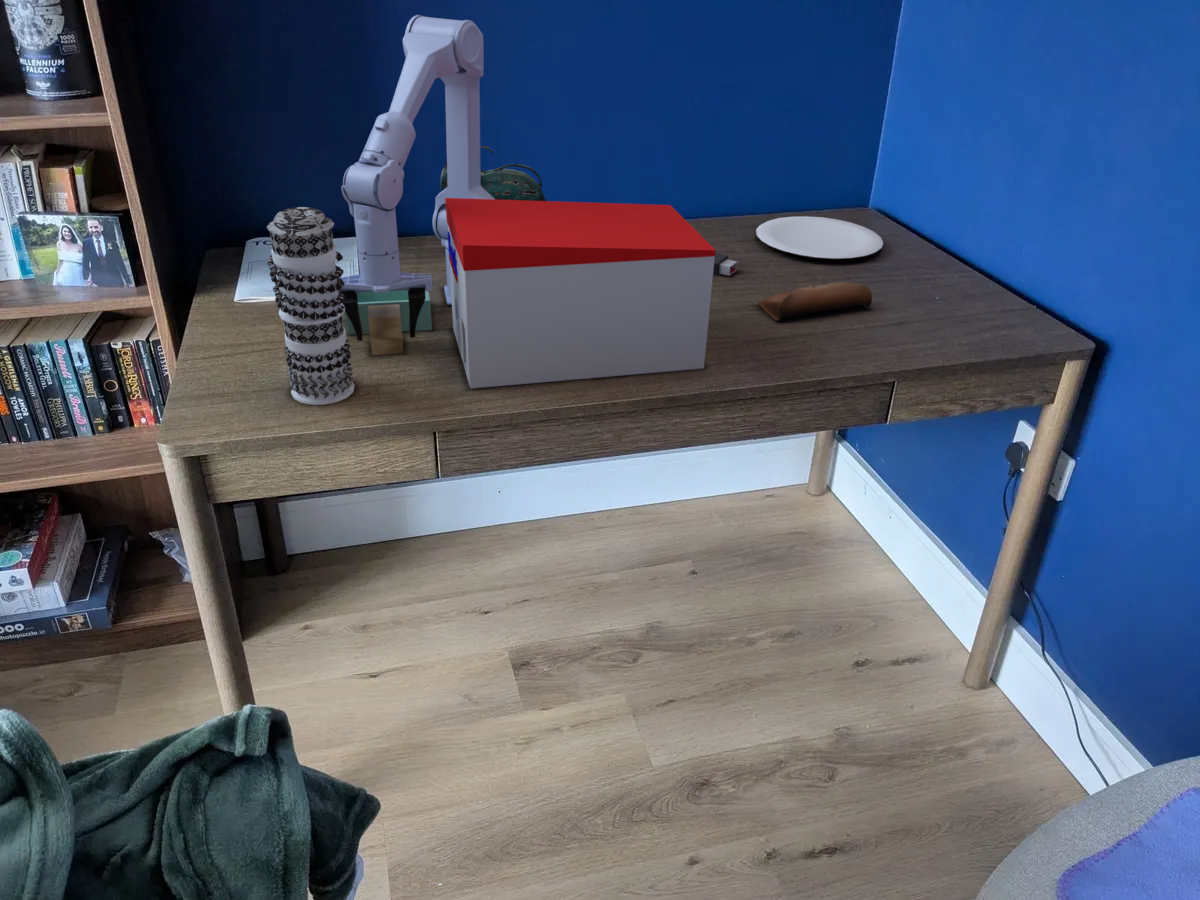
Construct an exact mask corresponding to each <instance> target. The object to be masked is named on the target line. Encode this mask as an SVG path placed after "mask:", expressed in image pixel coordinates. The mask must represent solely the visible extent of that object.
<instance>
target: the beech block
mask: <svg viewBox="0 0 1200 900" xmlns="http://www.w3.org/2000/svg"><path fill="white" fill-rule="evenodd" d="M368 320H369V330H370V333H369V339H370V348H371V355H372V356H380V355H382V356H383V355H398V354H404V353H405V352H404V341H403V332H402V327H401V316H400V305H399V304H394V305H375V306H368Z"/></svg>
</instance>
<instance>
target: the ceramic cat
mask: <svg viewBox="0 0 1200 900" xmlns="http://www.w3.org/2000/svg"><path fill="white" fill-rule="evenodd" d="M480 149H486V150H488V151H489V152H491V154H493V155H494V154H495V152H494V151H493V150H492V149H491V148H490V146H486V145H480ZM509 167H510V168H509ZM511 167H516V168H521V169H526V170H529V171H530V172H532V173H533V174H534V175H535V176H536V178H537V180H538V181H539V183H538V182H537V181H536V180H535V179H534V178H533V177H532V176H531V175H530V174H528V173H526V172H524V171H521V170H517V169H513V168H511ZM480 179H481V186H482V187H483V188H484V189H485V190H486V191H487V192H488V193H489V194H490V195H491V196H492V197H493V198H494V199H495V200H526V201H547V199H546V197H545V195H544V192H543V189H542V187H543V182H542V180H541V177H540V175H539V173H538V172H537V171H536V170H535V169H533V168H532V167H531V166H529V165H524V164H519V163H509V164H506V165H503V166H500V167H497V168H493V169H488V170H484V169H481V168H480ZM439 181H440V187H439V188H440V190H441V191H440V192H442V191H443V190H444V189H446V188H447V187H448V179H447V160H446V161H445V162H444V167H443V168H442V170H441V173H440V180H439Z"/></svg>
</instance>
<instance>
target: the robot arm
mask: <svg viewBox="0 0 1200 900" xmlns="http://www.w3.org/2000/svg"><path fill="white" fill-rule="evenodd" d="M402 47H403V53H404V56H405V59H404V62H403V66H402V69H401V73H400V76H399V79H398V82H397V85H396V88H395V91H394V94H393V98H392V101H391V104H390V107H389V109H388V112H384V113H381V114H380V115H378V116H377V117H376V118H375V122H374V124H373V127H372V129H371V132H370V133H369V136H368V138H367V141H366V144H365V145H364V148H363V150H362V152H361V154H360V157H359V159H358V161H356V162H354V163H353V164H352V165H350V166H349V167H348V168H346V170H345V172H344V175H343V179H342V185H341V187H340V189H341V193H342V196H343V198H344V200H345V201H346V202H347V204H348V208H349V214H350V215H351V216H352V217H353V221H354V229H355V238H356V249H357V257H358V266H359V274H353V275H348V276H341V277H340V279H342V280H343V282H344V286H343V287H342V288H341V289H339V290H338V291H339V292H341V293H342V294H343V295H344V296H345V300H344V301H343V305H344V306H345V311H344V314H345V313H346V314H347V316H348V317H349V319H350V321H351V323H352V325H353V327H354V330H355V332H356V334H355V335H356V339H357V341H358V342H362V341H363V334H362V326H361V321H360V316H359V309H358V298H357V293H362V292H375V293H387V292H389V291H403V290H408V299H409V328H410V331H409V338H410V339H415V338H416V331H415V329H416V324H417V320H418V316H419V313H420V311H421V308H422V306H423V304H424V301H425V298H426V295H425V291H429V292H432V291H434V289H433V288H434V287H433V277H432V273H415V272H414V273H413V272H402V271H401V262H400V261H401V260H400V250H399V237H398V225H397V214H396V207H397V205H398V204H399V202H400V200H401V199H402V196H403V192H404V178H405V171H404V167H405V164H406V161H407V159H408V158H409V157H408V156H409V154H410V151H411V149H412V147H413V145H414V142H415V139H416V136H417V134H416V133H417V132H416V130H415V127H414V125H413V122H414V121H415V118H416V117H417V115H418V113H419V111H420V109H421V107H422V105H423V103H424V101H425V99H426V98H427V96H428V93H429V92H430V89H431V88H432V85H433V84H434V82H435V80H437V79H440V80H441V81H442V82H443V83H444V95H445V98H444V99H445V101H444V102H445V132H446V133H445V134H446V135H445V136H446V138H445V139H446V161H447V179H448V187H447V188H446V189H444V190H443V191H440V192H439V193H438V194H437V195H436V196H435V199H434V200H435V205H434V212H433V215H432V220H431V221H432V230H433V232H434V235H435V237H436V238H437V239H439V240H440V245H441V246H442V247H444V249H445V251H444V252H445V267H446V268H445V270H446V285H444V287H443V289H444V294H445V295H444V296H445V300H446V305H447V306H452V294H451V275H450V261H449V248H448V224H447V220H446V202H445V198H464V199H494V198H493V197H492V196H491V195H490V194H489V193H488V192H487V191H486V190H485V189H484V188H483V187H482V186H481V179H480V169H481V148H480V146H481V92H480V91H481V90H480V89H481V85H480V83H481V82H480V80H481V79H480V78H483V77H484V64H485V63H484V34H483V32H482V30H480V28H479V27H478V25H477V24H476V23H475V22H474V21H473V20H470V19H464V20H459V19H458V20H457V19H449V18H440V17H439V18H438V17H430V16H424V15H421V14H416V15H414V16H412V17H411V18H410V19H409V21H408V23H407V25H406V28H405V33H404V36H403V37H402Z"/></svg>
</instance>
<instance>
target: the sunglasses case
mask: <svg viewBox="0 0 1200 900" xmlns="http://www.w3.org/2000/svg"><path fill="white" fill-rule="evenodd" d="M872 302H873V294H872V291H871V289H870V288H869V287H868V286H867V285H864V284H861V283H860V284H859V283H853V282H830V283H825V284H816V285H807V286H803V287H802V286H800V287H798V288H796V289H794V290H792V291H787V292H782V293H778V294H774V295H771V296H767V297H766V298H763V299H761V300H759V301H758V306H759V307H760V308H761V309H762V310H763V311H764V312H765V313H766V314H767V315H768V316H770V318H772V319H773V320H775V321H776V322H777V321H778V322H779V321H780V320H782V319H790V318H795V317H798V316H804V315H806V314H811V313H815V312H823V311H832V310H837V309H845V308H851V307H858V306H865V307H866V308H867V307H868V308H869V307H870V306H872Z"/></svg>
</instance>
